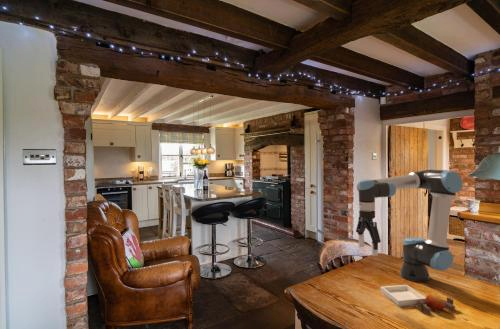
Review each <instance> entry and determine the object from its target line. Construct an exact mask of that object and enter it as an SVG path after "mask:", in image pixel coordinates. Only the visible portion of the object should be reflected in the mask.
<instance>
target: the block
mask: <svg viewBox="0 0 500 329" xmlns="http://www.w3.org/2000/svg"><path fill="white" fill-rule="evenodd" d="M443 300H444V301H445V303H446V306H445V308H444V309H445V310H447V311H448V312H450V313H455V312H456V306H455V305H454V299H452V298H451V297H446V299H443ZM415 307H416V308H417V311H419V312H421V313H423V314H425V315H430V314H431V309H430V308H429V307H428V306H426V305H425V304H423V302H422V301H420V300H417V302H416V306H415Z"/></svg>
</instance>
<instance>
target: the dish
mask: <svg viewBox="0 0 500 329" xmlns="http://www.w3.org/2000/svg"><path fill="white" fill-rule="evenodd" d="M380 293H381V294H382V295H383V296H385V297H386V298H387V299H388V300H389V301H390V302H392V303H393V304H395V306H396V307H398V308H400V307H401V308H403V307H414V306H415V307H416V302H417V300H420V301H422V302H423V304H425V305H426V296H425V295H423V294H421V292H418V291H417V290H416V289H414V288H413V287H411V286H410V285H408V284H398V285H395V284H394V285H386V286H385V285H383V286H380Z"/></svg>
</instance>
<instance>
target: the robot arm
mask: <svg viewBox="0 0 500 329" xmlns="http://www.w3.org/2000/svg"><path fill="white" fill-rule="evenodd" d="M463 186H464V185H463V179H462V176H461V175H460V174H459V173H458V172H457V171H454V170H448V169H443V170H441V169H425V170H421V171H414V172H410V173H408V174H405V175H399V176H397V175H396V176H391V177H386V178H377V179H376V178H375V179H360V180H359V181H358V182H357V184H356V189H357V191H358V207H359V208H358V209H359V210H358V213H359V215H358V221H357V225H356V230H355V232H356V233H357V235H358V248H364V247H365V231H368V233H369V236H370V239H371V256H372V257H378V256H379V243H381V242H382V241H381V236H380V233H379V229H378V224H377V221H374V219H375V218H376V199H377V198H389V197H391V198H392V197H393V196H395V195H396V193H397V191H398V190H404V189H410V188H411V189H413V190H414V189H415V190H416V189H422V190H424V189H425V190H428V191H429V194H430V195H431V196H432V200H431V209H430V216H429V217H430V218H429V223H428V224H429V225H428V231H427V239H425V238H422V237H405V238H404V239H403V242H402V255H403V256H402V258H403V259H402V261H403V263H402V265H401V268H400V271H399V272H400V273H399V275H400V276H401V277H402V278H403V279H405V280H406V281H407V280H408V281H411V282H416V283H427V282H429V281H430V274H429V270H428V267H429V268H431V269H432V270H437V271H439V272H443V271H446V270H449V268H450V267H452V265H453V263H454V255H453V253H452V252H451V251H450V246H449V244H448V243H447V241H448V240H447V239H448V232H449V230H448V229H449V221H450V214H451V206H452V200H453V198H455V197H456V194H457V193H459V192H460V191H461V190H462V188H463Z"/></svg>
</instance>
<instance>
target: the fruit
mask: <svg viewBox="0 0 500 329" xmlns="http://www.w3.org/2000/svg"><path fill="white" fill-rule="evenodd" d="M425 297H426V306H428V307H429V308H430V313H432V312H433V311H435V312H443V310H444V309H445V306H446V303H445V301H444V300H445V299H444V298H442V297H441V296H439V295H437V294H435V293H428V294H427V295H426V296H425Z"/></svg>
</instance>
